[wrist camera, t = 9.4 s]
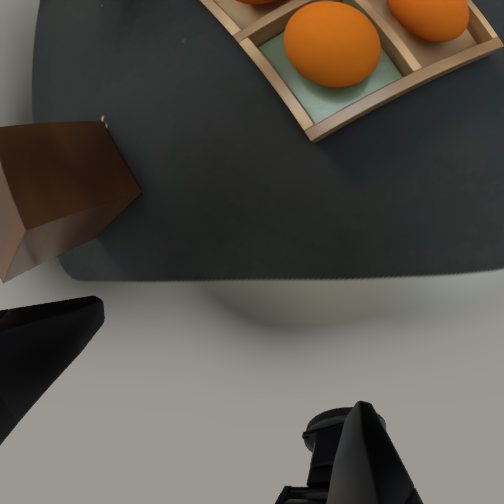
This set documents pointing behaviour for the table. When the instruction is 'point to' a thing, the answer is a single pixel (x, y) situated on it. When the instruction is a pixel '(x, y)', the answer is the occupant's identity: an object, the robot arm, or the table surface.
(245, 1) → the clementine
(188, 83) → the table surface
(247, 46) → the fruit rack
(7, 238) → the brown wooden block
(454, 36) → the clementine
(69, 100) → the table surface
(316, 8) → the clementine
